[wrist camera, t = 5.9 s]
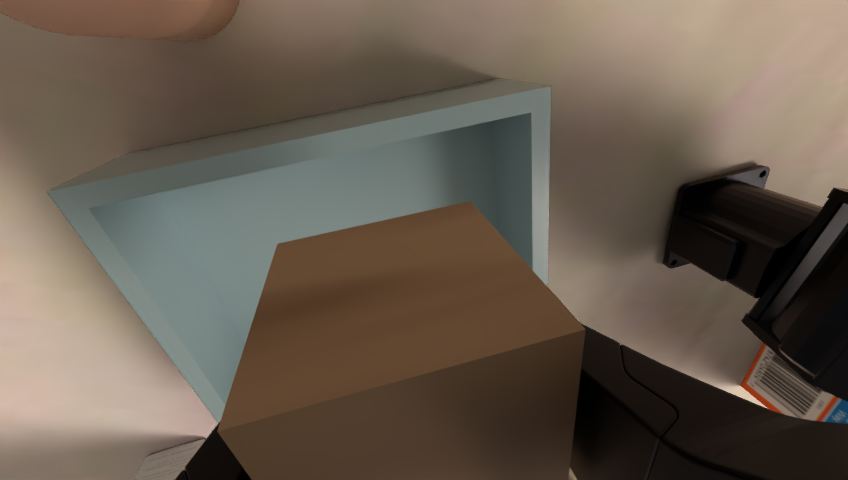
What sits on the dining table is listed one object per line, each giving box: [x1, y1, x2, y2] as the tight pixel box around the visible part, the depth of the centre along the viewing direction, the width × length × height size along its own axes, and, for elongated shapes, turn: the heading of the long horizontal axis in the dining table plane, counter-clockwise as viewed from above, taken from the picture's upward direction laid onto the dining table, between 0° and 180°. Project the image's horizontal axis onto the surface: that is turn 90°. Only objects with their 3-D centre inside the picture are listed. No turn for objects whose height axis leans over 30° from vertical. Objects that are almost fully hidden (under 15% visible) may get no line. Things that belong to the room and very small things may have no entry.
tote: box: [47, 78, 551, 423], centre depth 18 cm, size 18×16×5 cm
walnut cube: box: [217, 201, 586, 480], centre depth 8 cm, size 5×5×5 cm
